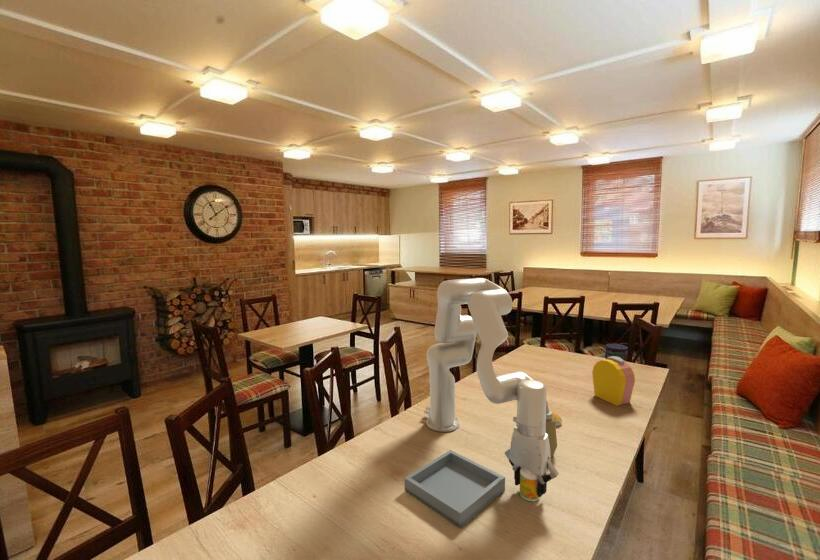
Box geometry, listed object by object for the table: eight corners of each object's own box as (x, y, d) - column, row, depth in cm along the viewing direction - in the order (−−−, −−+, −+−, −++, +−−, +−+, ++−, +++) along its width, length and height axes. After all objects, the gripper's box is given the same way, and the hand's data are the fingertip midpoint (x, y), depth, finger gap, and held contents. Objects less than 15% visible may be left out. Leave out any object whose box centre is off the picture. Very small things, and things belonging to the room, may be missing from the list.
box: (404, 491, 110) (404, 477, 110) (450, 461, 124) (450, 449, 124) (460, 528, 96) (460, 513, 96) (504, 490, 110) (505, 477, 109)
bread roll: (551, 415, 155) (551, 405, 154) (565, 426, 146) (565, 416, 145) (532, 418, 153) (532, 408, 152) (545, 428, 144) (545, 418, 144)
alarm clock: (634, 403, 163) (637, 361, 161) (620, 407, 160) (622, 364, 158) (605, 390, 177) (606, 351, 175) (591, 393, 174) (593, 354, 172)
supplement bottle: (515, 495, 108) (516, 462, 106) (525, 486, 111) (526, 454, 110) (534, 504, 104) (534, 470, 103) (543, 495, 108) (544, 462, 106)
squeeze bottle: (540, 462, 123) (541, 407, 121) (526, 449, 131) (527, 397, 129) (562, 458, 125) (563, 404, 123) (547, 445, 133) (548, 394, 131)
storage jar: (599, 372, 200) (601, 344, 198) (615, 370, 202) (616, 342, 201) (615, 379, 190) (616, 349, 188) (631, 377, 193) (632, 347, 191)
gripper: (495, 421, 109) (495, 481, 111) (555, 444, 96) (553, 511, 99) (510, 412, 114) (509, 469, 116) (568, 433, 102) (566, 496, 104)
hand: (529, 488), depth 107 cm, fingers open, 6 cm apart
